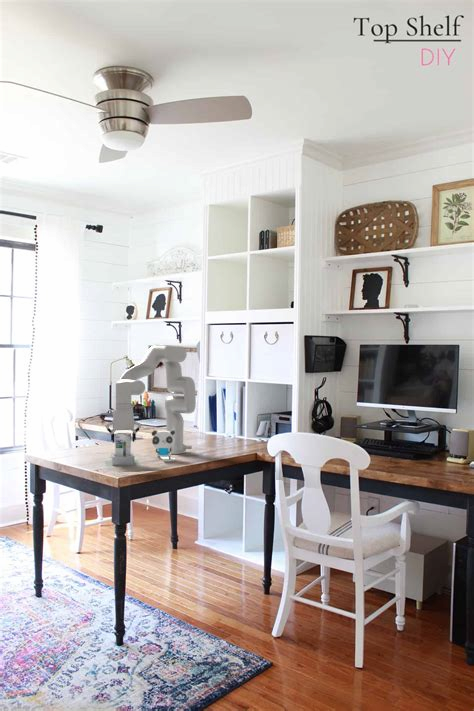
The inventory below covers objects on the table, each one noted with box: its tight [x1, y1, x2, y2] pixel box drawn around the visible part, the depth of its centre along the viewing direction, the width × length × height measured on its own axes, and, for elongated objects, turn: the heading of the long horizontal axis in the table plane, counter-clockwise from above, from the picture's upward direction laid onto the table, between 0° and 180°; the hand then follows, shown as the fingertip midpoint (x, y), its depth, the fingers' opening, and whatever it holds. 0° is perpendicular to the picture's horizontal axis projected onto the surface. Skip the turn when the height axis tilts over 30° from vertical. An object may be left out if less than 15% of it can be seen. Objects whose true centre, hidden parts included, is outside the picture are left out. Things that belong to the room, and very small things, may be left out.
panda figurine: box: [151, 429, 176, 462], centre depth 312 cm, size 12×11×15 cm
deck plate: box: [104, 459, 141, 467], centre depth 292 cm, size 16×14×2 cm
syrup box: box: [114, 432, 132, 457], centre depth 292 cm, size 6×6×14 cm
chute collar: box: [110, 452, 136, 465], centre depth 292 cm, size 10×10×4 cm
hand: (123, 441), depth 292 cm, fingers open, 9 cm apart
